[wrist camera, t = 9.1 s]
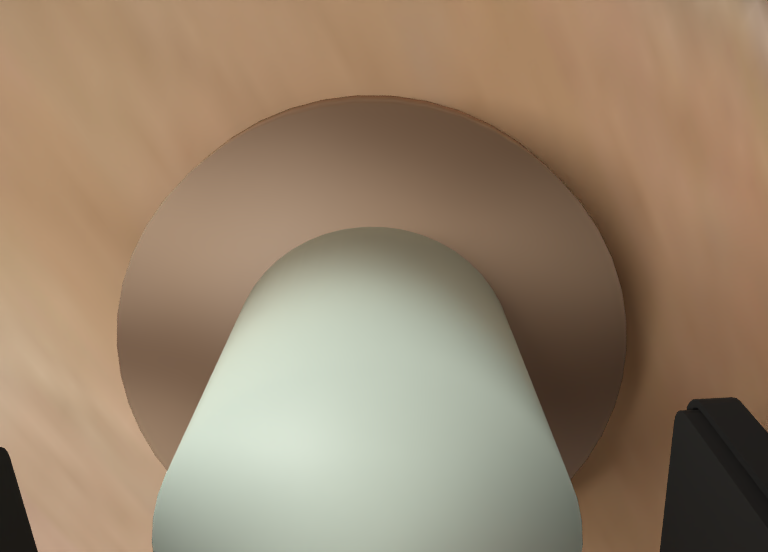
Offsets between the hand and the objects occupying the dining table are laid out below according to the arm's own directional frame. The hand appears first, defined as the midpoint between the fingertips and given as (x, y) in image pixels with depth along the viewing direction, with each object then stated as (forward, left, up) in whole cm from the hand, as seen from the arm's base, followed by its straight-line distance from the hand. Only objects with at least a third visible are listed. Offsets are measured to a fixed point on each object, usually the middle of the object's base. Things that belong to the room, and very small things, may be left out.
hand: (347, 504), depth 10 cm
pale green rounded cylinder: (+1, 0, -6) cm, 6 cm away
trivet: (+2, 0, -7) cm, 8 cm away
